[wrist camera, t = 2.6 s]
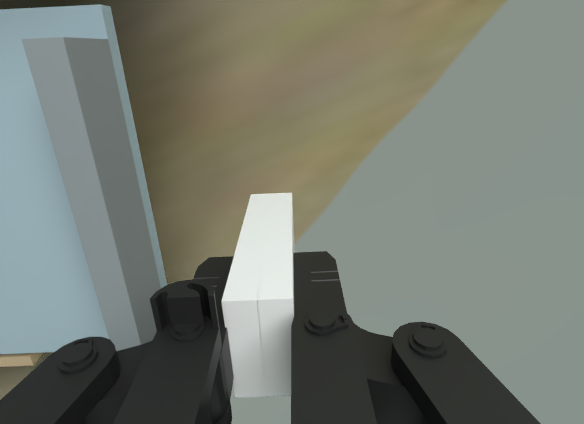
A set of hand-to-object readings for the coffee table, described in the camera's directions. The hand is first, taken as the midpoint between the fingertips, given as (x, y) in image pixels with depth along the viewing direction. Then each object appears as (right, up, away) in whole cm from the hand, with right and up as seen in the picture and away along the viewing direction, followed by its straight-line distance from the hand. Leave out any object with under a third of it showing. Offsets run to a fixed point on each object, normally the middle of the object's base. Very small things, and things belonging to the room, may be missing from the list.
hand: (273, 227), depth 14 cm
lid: (-12, +1, +3) cm, 12 cm away
